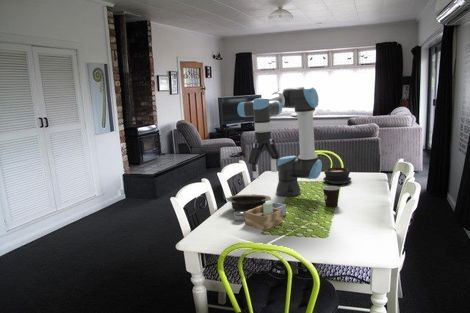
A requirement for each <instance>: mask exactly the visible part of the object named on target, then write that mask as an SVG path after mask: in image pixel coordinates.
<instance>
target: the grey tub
mask: <svg viewBox="0 0 470 313" xmlns="http://www.w3.org/2000/svg"><path fill="white" fill-rule="evenodd" d="M271 203H272V205H273V208H276V209H281V210H282V215H283V217H284V216H286V215H287V204H286V203H285V204H283V203H280V202H274V201H273V202H271Z"/></svg>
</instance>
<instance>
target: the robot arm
mask: <svg viewBox="0 0 470 313" xmlns="http://www.w3.org/2000/svg"><path fill="white" fill-rule="evenodd" d="M319 102H320V101H319V95H318V92H317V90H316V89H315V88H314V87H311V86H300V87H287V88H284V89H281V90H278V91H275V92H273V93H271V95H268V96H267V95H266V96H265V97H259V98H253V100H250V101H244V102H243V101H242V102H239V103H238V105H237V109H236V110H237V115H238V116H239V117H242V118H252V117H253V123H254V124H253V125H254V131H255V132H254V136H255V137H254V139H255V141H256V143H255V142H253V143H251V150H250V153H249V158H248V161H247V163H248V165H251V171H252V178H254V179H259V177H260V176H259V165H258V162H259V159H260V157H261V155H262V153H263V152H265V151H266V152H267V153H268V155H269V156H270V157H271V158H270V168H271V171H270V172H271V173H277V176H278V182H277V185H276V190H275V191H276V192H275V194H276V195H277V196H280V197H294V196H295V197H296V196H299V195H300V194H301V187H300V185H299V180H298V179H308V180H317V179H318V178H319V177H320V175H321V173H322V169H323V168H322V167H323V163H322V162H323V161H322V160H321V159H319V158H318V155H317V154H316V151H315V150H316V149H315V133H314V132H315V129H314V115H313V114H314V113H315V111H316V108H318V105H319ZM283 109H294V113H295V114H297V126H298V140H299V155H298V156H297V155H287V156H286V155H285V156H283V157H280V153H279V151H278V149H277V145H276V144H275V143H276V142H275V139H274V138H273V139H272V133H271V130H272V129H271V128H272V126H271V117H276V116H279V115H280V114H281V113H282V111H283ZM279 157H280V158H279Z"/></svg>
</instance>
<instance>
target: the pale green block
mask: <svg viewBox="0 0 470 313" xmlns="http://www.w3.org/2000/svg"><path fill="white" fill-rule="evenodd" d="M272 203H273V202H266V203H264V204H263V211H264V216H267V215H269V214H272V213H273V205H272Z"/></svg>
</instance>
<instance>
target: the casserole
mask: <svg viewBox="0 0 470 313" xmlns="http://www.w3.org/2000/svg"><path fill="white" fill-rule="evenodd" d="M323 173H324V175H325V176H324V177H323V178H322V179H323V181H324V182H326V183H327V182H328V183H329V184H337V185H339V184H340V185H341V184H348V183H349V182H350V181H351V180H352V178H351V177H350V174H351V172H350V171H349V169H348V168H347V167H328V168H326V169H325V170H324V172H323Z"/></svg>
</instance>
